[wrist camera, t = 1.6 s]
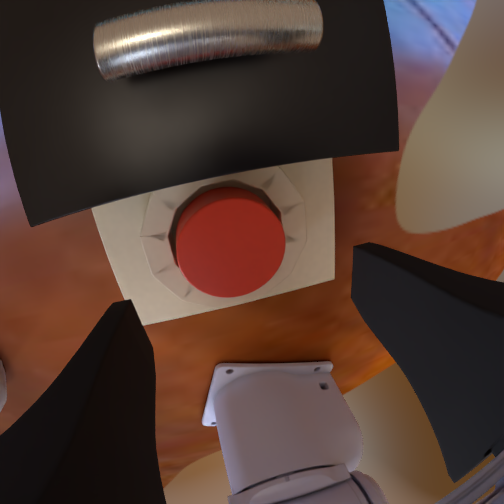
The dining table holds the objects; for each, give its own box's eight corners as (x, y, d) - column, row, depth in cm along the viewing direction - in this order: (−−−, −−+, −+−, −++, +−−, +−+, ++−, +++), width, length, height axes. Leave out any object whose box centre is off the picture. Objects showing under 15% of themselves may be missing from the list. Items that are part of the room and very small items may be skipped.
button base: (328, 271, 19) (348, 295, 16) (137, 316, 17) (134, 348, 15) (321, 129, 15) (349, 136, 12) (88, 176, 13) (70, 191, 11)
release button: (278, 265, 15) (290, 284, 13) (188, 286, 14) (191, 308, 13) (268, 177, 13) (281, 187, 11) (165, 198, 12) (163, 212, 11)
